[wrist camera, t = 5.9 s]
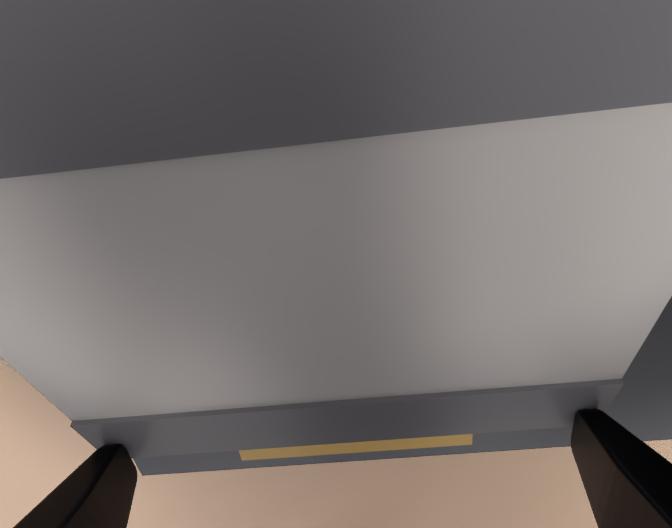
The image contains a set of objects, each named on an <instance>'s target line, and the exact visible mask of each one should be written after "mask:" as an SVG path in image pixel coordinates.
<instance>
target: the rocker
mask: <svg viewBox="0 0 672 528" xmlns="http://www.w3.org/2000/svg"><path fill="white" fill-rule="evenodd" d="M671 296H672V0H0V357H1V358H2V359H3V360H4V361H5V362H6V363H8V364H9V365H10V366H11V367H12V368H13V369H14V370H15V371H17V372H18V373H19V374H20V375H21V376H22V377H23V378H24V379H26V380H27V381H28V382H29V383H30V384H31V385H32V386H33V387H35V388H36V389H37V390H38V391H39V392H40V393H41V394H42V395H44V396H45V397H46V398H47V399H48V400H49V401H50V402H51V403H53V404H54V405H55V406H56V407H57V408H58V409H59V410H60V411H62V412H63V413H64V414H65V415H66V416H67V417H68V418H69V419H71V420H72V423H71V427H72V428H73V429H74V430H75V431H77V432H78V433H79V434H80V435H81V436H82V437H84V438H85V439H86V440H87V441H88V442H89V443H90V444H92V445H93V446H94V447H95V448H96V449H98V448H100V447H101V446H104V445H112V444H121V445H123V446H124V447H125V448H126V449H127V451H128V453H129V455H130V457H131V458H141V457H155V456H169V455H183V454H197V453H211V452H225V451H240V450H254V449H268V448H282V447H296V446H310V445H324V444H338V443H352V442H366V441H380V440H394V439H408V438H422V437H436V436H450V435H464V434H478V433H492V432H506V431H520V430H534V429H548V428H562V427H573V422H574V417H575V414H576V412H577V411H579V410H584V409H600V410H602V411H603V412H605V413H606V412H607V411H608V409H609V407H610V406H611V404H612V403H613V401H614V399H615V398H616V396H617V395H618V393H619V391H620V390H621V388H622V386H623V385H624V382H623V380H622V377H623V376H624V374H625V372H626V371H627V369H628V367H629V366H630V364H631V362H632V361H633V359H634V357H635V356H636V354H637V352H638V351H639V349H640V347H641V346H642V344H643V342H644V341H645V339H646V338H647V336H648V334H649V333H650V331H651V329H652V328H653V326H654V324H655V323H656V321H657V319H658V318H659V316H660V314H661V313H662V311H663V309H664V308H665V306H666V304H667V303H668V301H669V299H670V298H671Z"/></svg>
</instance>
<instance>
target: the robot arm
mask: <svg viewBox="0 0 672 528" xmlns="http://www.w3.org/2000/svg"><path fill="white" fill-rule="evenodd" d="M571 448H572V452H573V455H574V458H575V461H576V464H577V467H578V470H579V473H580V475H581V478H582V481H583V484H584V487H585V490H586V493H587V496H588V499H589V502H590V505H591V508H592V511H593V514H594V517H595V519H596V522H597V525H598V528H672V464H671V463H670V462H669V461H668V460H666V459H665V458H664V457H662V456H661V455H660V454H658V453H657V452H656V451H655V450H653V449H652V448H651V447H649V446H648V445H647V444H645V443H644V442H643V441H641V440H640V439H639V438H638V437H636V436H635V435H634V434H632V433H631V432H630V431H628V430H627V429H626V428H624V427H623V426H622V425H621V424H619V423H618V422H617V421H615V420H614V419H613V418H611V417H610V416H609V415H607V414H606V413H605V412H603V411H602V410H600V409H584V410H579V411H577V412H576V414H575V417H574V422H573V428H572V433H571ZM136 482H137V470H136V467H135V465H134V463H133V461H132V459H131V457H130V455H129V453H128V451H127V449H126V448H125V447H124V446H123V445H121V444H112V445H104V446H101V447H100V448H98V449H97V450H96V451H95V452H94V453H93V454H92V455H91V456H90V457H89V458H88V459H86V460H85V461H84V462H83V463H82V464H81V465H80V466H79V467H78V468H77V469H76V470H75V471H74V472H73V473H71V474H70V475H69V476H68V477H67V478H66V479H65V480H64V481H63V482H62V483H61V484H60V485H59V486H57V487H56V488H55V489H54V490H53V491H52V492H51V493H50V494H49V495H48V496H47V497H46V498H45V499H43V500H42V501H41V502H40V503H39V504H38V505H37V506H36V507H35V508H34V509H33V510H32V511H31V512H29V513H28V514H27V515H26V516H25V517H24V518H23V519H22V520H21V521H20V522H19V523H18V524H17V525H15V526H14V527H13V528H127V523H128V519H129V514H130V510H131V505H132V500H133V496H134V491H135V487H136Z"/></svg>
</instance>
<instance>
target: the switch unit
mask: <svg viewBox="0 0 672 528" xmlns="http://www.w3.org/2000/svg"><path fill="white" fill-rule="evenodd" d="M622 380H623V382H624V385H623V386H622V388H621V390H620V391H619V393H618V395H617V396H616V398H615V399H614V401H613V403H612V404H611V406H610V407H609V409H608V411H607V412H606V414H607V415H609V416H610V417H611V418H613V419H614V420H615V421H617V422H618V423H619V424H621V425H622V426H623V427H624V428H626V429H627V430H628V431H630V432H631V433H632V434H634V435H635V436H636V437H638V438H639V439H640V440H641V441H652V440H667V439H672V296H671V298H670V299H669V301H668V303H667V304H666V306H665V308H664V309H663V311H662V313H661V314H660V316H659V318H658V319H657V321H656V323H655V324H654V326H653V328H652V329H651V331H650V333H649V334H648V336H647V338H646V339H645V341H644V342H643V344H642V346H641V347H640V349H639V351H638V352H637V354H636V356H635V357H634V359H633V361H632V362H631V364H630V366H629V367H628V369H627V371H626V372H625V374H624V376H623V377H622ZM572 428H573V427H562V428H548V429H534V430H520V431H506V432H492V433H478V434H464V435H450V436H436V437H422V438H408V439H394V440H380V441H366V442H352V443H338V444H324V445H310V446H296V447H282V448H268V449H254V450H240V451H225V452H211V453H197V454H183V455H169V456H155V457H141V458H133V459H134V461H135V463H136V465H137V467H138V468H139V470H140V472H141V474H142V476H143V475H157V474H172V473H186V472H201V471H215V470H230V469H245V468H259V467H274V466H288V465H303V464H317V463H332V462H347V461H361V460H376V459H390V458H405V457H419V456H434V455H448V454H463V453H478V452H492V451H507V450H521V449H536V448H550V447H565V446H571V433H572Z"/></svg>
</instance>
